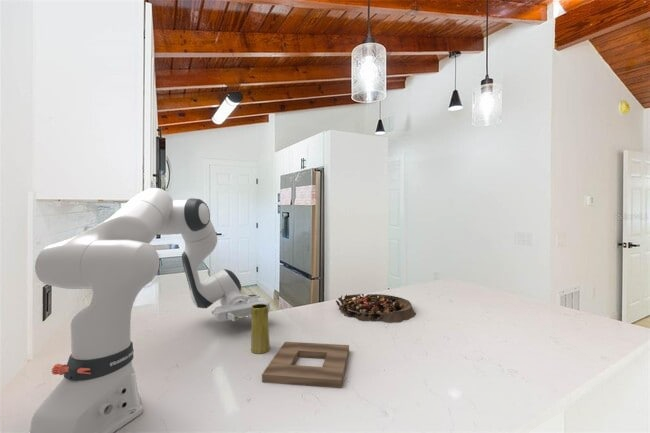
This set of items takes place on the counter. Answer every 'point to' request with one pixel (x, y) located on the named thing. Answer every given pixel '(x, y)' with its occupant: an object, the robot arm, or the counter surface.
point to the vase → (259, 329)
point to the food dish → (376, 308)
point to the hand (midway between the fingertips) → (248, 316)
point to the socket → (323, 376)
